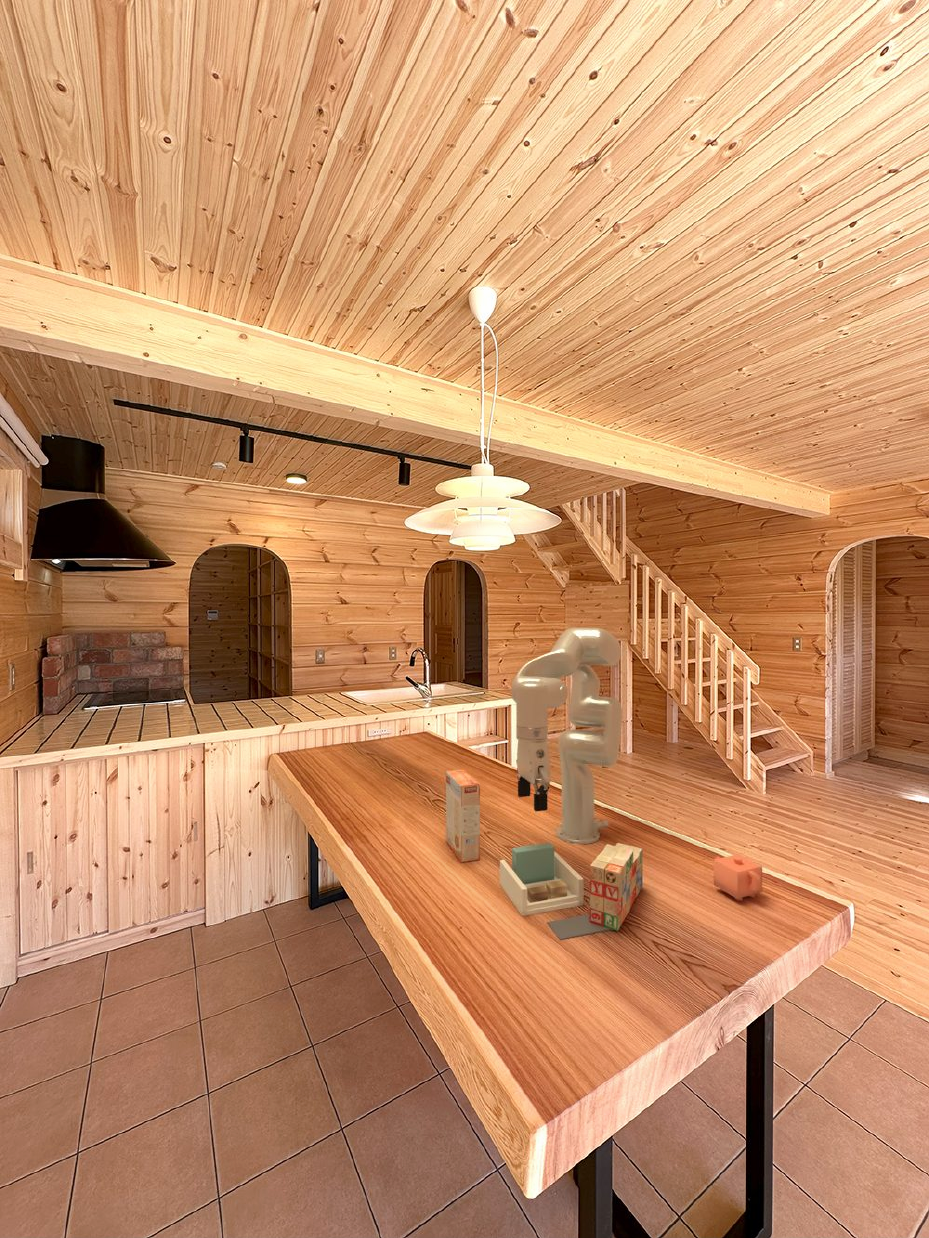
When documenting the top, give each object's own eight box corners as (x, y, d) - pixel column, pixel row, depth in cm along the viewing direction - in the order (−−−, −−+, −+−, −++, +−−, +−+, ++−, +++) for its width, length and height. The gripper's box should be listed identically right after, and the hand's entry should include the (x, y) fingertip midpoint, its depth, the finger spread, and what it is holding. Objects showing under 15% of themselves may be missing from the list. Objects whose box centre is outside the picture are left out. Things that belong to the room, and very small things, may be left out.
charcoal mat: (600, 913, 114) (600, 911, 114) (616, 929, 109) (616, 927, 109) (547, 924, 111) (547, 922, 111) (560, 941, 105) (560, 939, 105)
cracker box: (481, 860, 139) (481, 782, 139) (460, 864, 137) (459, 785, 137) (465, 838, 152) (464, 768, 152) (445, 841, 151) (444, 770, 150)
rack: (555, 875, 131) (555, 851, 131) (583, 905, 118) (583, 878, 118) (499, 884, 127) (499, 860, 127) (522, 916, 113) (522, 889, 113)
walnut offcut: (543, 896, 120) (543, 885, 120) (548, 902, 117) (547, 891, 117) (527, 899, 118) (527, 888, 118) (531, 905, 116) (531, 893, 116)
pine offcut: (562, 892, 121) (561, 880, 121) (567, 898, 119) (567, 885, 118) (546, 895, 120) (546, 882, 120) (551, 901, 117) (551, 888, 117)
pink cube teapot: (727, 876, 130) (727, 843, 130) (770, 901, 119) (770, 865, 119) (703, 882, 127) (703, 848, 127) (745, 908, 116) (745, 871, 116)
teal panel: (549, 876, 128) (549, 842, 128) (554, 881, 126) (554, 846, 126) (512, 882, 125) (512, 848, 125) (516, 888, 123) (516, 852, 123)
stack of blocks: (616, 879, 129) (617, 830, 128) (642, 886, 125) (643, 836, 125) (588, 921, 110) (589, 864, 110) (618, 931, 107) (619, 872, 107)
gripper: (562, 739, 118) (562, 814, 118) (531, 724, 135) (531, 790, 135) (532, 742, 116) (532, 818, 116) (504, 726, 133) (504, 792, 133)
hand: (532, 803), depth 125 cm, fingers open, 9 cm apart
